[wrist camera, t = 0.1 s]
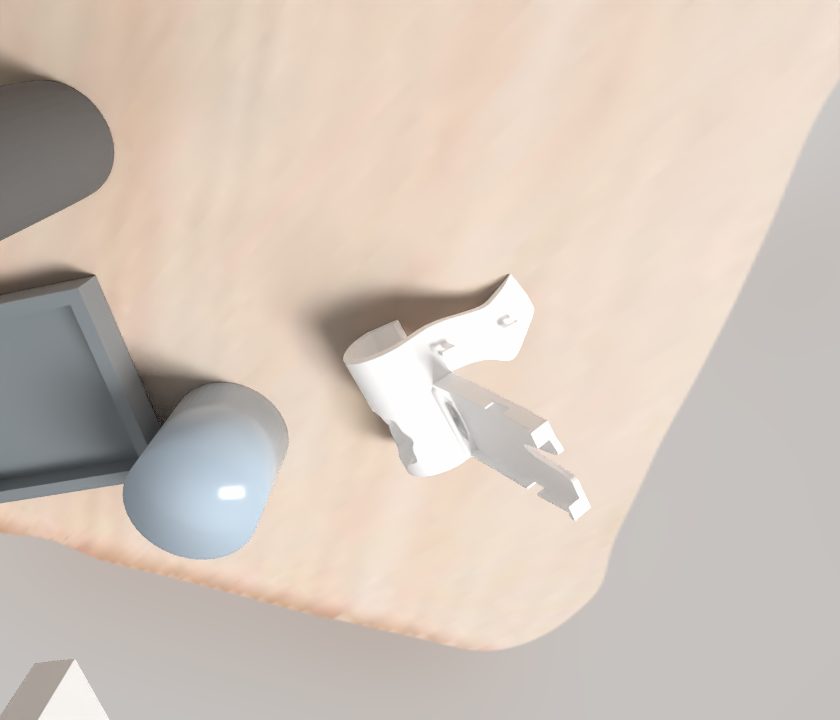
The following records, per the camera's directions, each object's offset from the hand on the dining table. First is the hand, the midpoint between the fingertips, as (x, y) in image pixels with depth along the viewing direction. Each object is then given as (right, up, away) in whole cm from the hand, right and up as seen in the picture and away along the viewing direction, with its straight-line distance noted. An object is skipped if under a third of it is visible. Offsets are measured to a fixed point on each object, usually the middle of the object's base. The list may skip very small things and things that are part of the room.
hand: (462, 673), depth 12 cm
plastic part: (+1, +5, +29) cm, 29 cm away
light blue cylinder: (-12, +1, +32) cm, 34 cm away
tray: (-23, +3, +31) cm, 39 cm away
